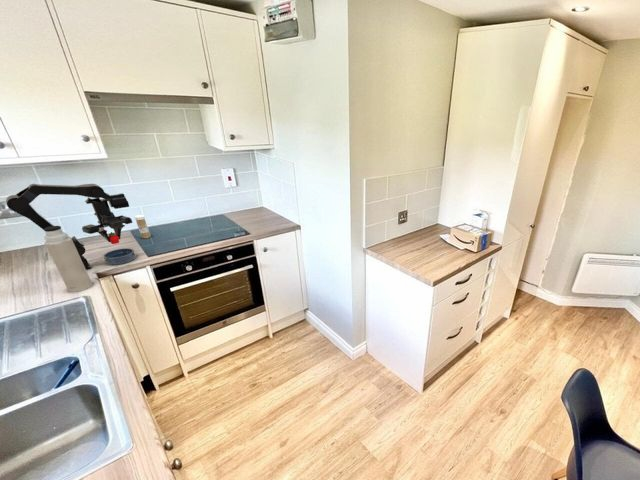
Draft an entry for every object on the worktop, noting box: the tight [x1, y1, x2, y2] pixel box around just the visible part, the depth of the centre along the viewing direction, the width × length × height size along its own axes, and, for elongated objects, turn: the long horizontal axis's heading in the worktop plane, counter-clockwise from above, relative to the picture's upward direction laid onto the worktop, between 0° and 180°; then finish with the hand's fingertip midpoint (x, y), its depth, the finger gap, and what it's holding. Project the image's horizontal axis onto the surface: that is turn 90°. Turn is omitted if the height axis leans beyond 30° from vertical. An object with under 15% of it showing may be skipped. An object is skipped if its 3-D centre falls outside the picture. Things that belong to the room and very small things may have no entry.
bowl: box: [102, 247, 137, 266], centre depth 165 cm, size 12×12×4 cm
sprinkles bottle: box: [134, 214, 152, 239], centre depth 190 cm, size 5×5×14 cm
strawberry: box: [108, 231, 120, 245], centre depth 161 cm, size 4×4×6 cm
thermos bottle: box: [43, 225, 93, 293], centre depth 135 cm, size 8×8×28 cm
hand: (114, 240), depth 162 cm, fingers closed on strawberry, 4 cm apart
